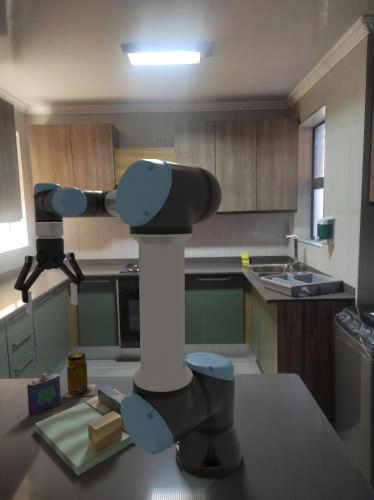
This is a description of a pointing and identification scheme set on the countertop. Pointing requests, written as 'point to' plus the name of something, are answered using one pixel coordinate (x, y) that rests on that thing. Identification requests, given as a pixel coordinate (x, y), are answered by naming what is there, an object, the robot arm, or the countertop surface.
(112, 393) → the latch bar
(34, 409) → the flask
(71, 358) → the condiment
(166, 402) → the robot arm
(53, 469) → the countertop surface
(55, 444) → the two-tone base plate
